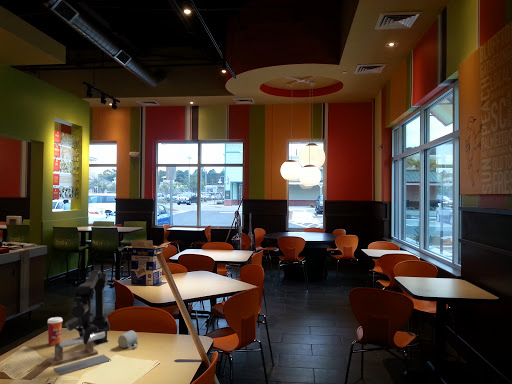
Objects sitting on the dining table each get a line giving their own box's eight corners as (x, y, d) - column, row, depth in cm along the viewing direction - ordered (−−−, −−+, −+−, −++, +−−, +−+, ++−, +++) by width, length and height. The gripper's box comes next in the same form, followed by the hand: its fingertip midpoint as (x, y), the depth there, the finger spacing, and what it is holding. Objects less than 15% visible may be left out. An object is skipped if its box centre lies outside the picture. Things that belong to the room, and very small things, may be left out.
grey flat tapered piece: (103, 355, 195) (103, 354, 195) (111, 360, 188) (111, 359, 188) (53, 369, 177) (53, 368, 177) (60, 375, 171) (60, 374, 171)
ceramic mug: (116, 347, 206) (117, 333, 206) (127, 342, 213) (128, 329, 213) (130, 351, 201) (131, 336, 201) (141, 346, 208) (142, 332, 209)
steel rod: (102, 336, 191) (102, 330, 192) (105, 338, 189) (105, 332, 189) (60, 346, 177) (61, 340, 177) (63, 348, 175) (63, 342, 175)
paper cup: (55, 347, 205) (56, 321, 205) (43, 345, 206) (44, 320, 207) (65, 342, 213) (66, 317, 213) (53, 340, 214) (54, 316, 215)
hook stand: (91, 350, 202) (92, 334, 202) (97, 354, 196) (98, 337, 196) (49, 361, 187) (49, 343, 187) (54, 366, 181) (55, 348, 181)
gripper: (60, 310, 185) (59, 342, 184) (74, 319, 172) (73, 353, 171) (83, 306, 193) (82, 337, 192) (99, 314, 179) (98, 347, 179)
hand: (83, 343), depth 183 cm, fingers closed on steel rod, 3 cm apart
